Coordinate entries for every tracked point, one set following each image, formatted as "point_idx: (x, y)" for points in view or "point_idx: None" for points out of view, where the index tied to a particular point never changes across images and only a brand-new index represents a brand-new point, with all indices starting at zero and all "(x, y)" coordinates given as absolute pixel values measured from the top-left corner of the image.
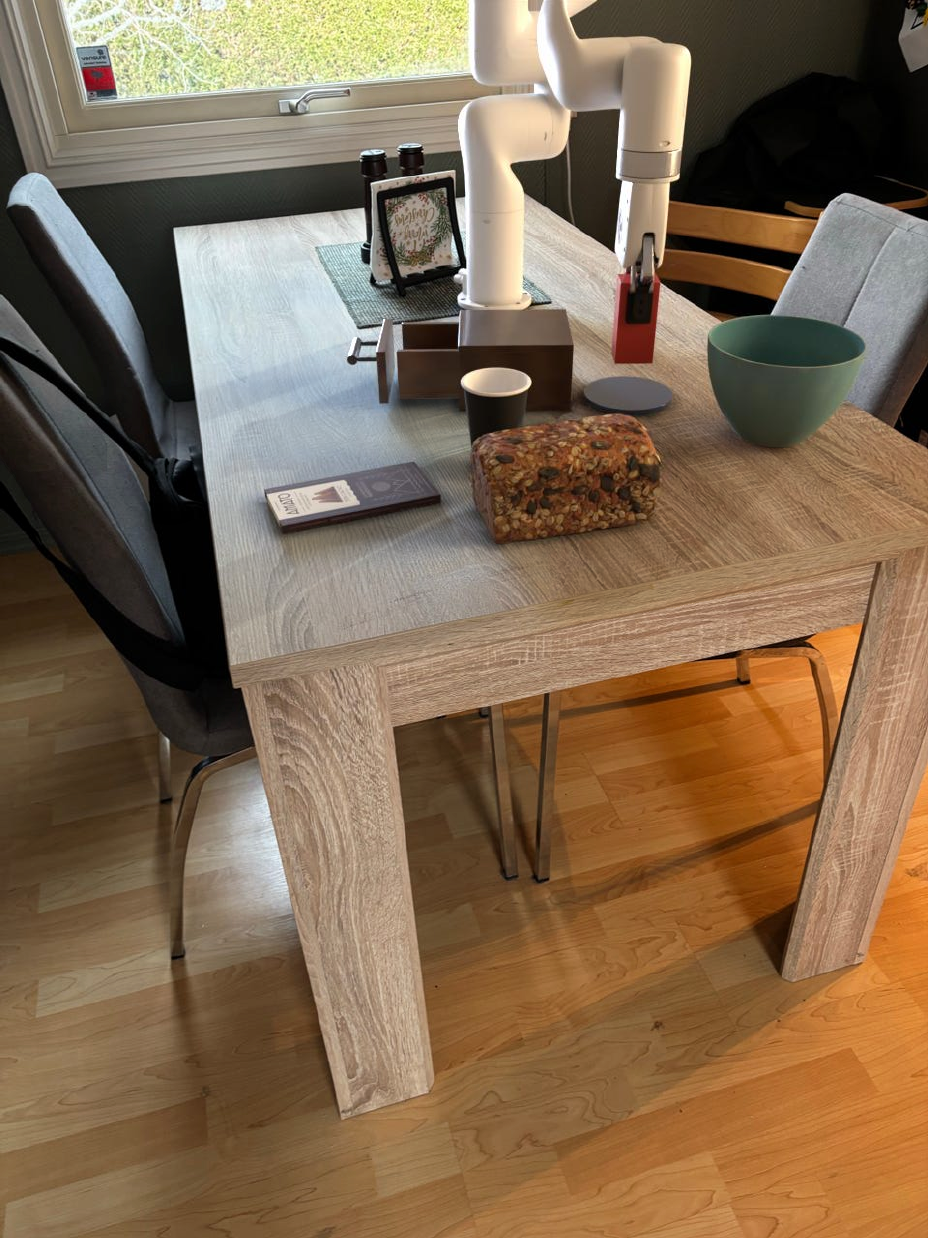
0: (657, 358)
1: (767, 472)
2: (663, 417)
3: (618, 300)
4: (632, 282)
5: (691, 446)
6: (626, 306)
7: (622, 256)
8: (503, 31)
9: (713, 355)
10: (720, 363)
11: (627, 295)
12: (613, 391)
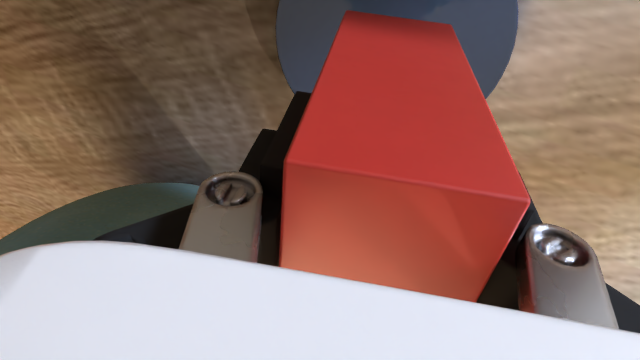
0: (618, 181)
1: (67, 175)
2: (270, 89)
3: (343, 102)
4: (191, 218)
5: (136, 98)
6: (293, 123)
7: (22, 331)
8: None
9: (43, 239)
10: (21, 236)
11: (273, 154)
12: (407, 4)
